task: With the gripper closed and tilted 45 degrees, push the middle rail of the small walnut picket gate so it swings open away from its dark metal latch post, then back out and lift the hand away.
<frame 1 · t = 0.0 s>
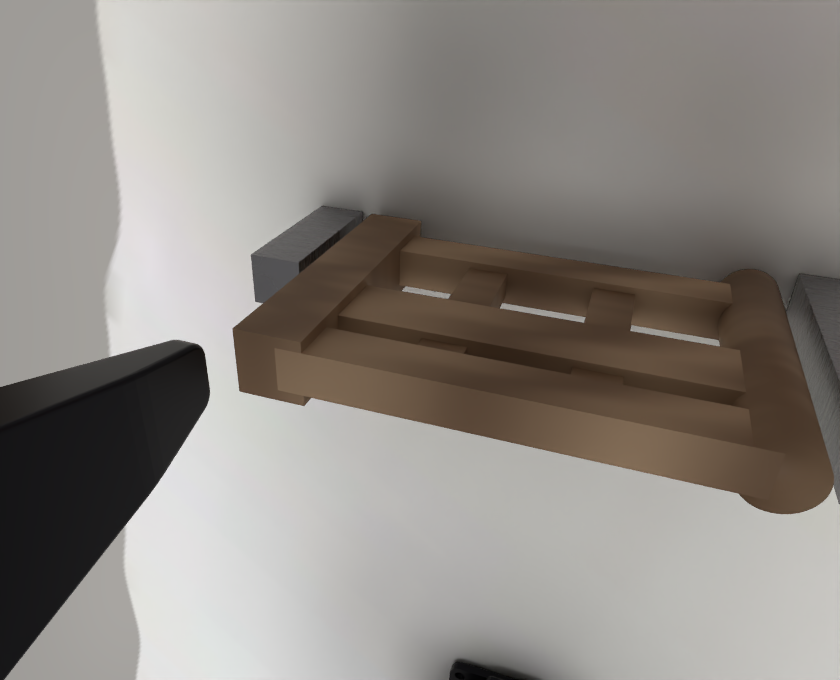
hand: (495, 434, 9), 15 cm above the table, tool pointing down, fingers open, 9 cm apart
gate posts: (745, 288, 22), on the table
walnut gate: (536, 327, 19), point 5 cm above the table, hinge at 0.0°
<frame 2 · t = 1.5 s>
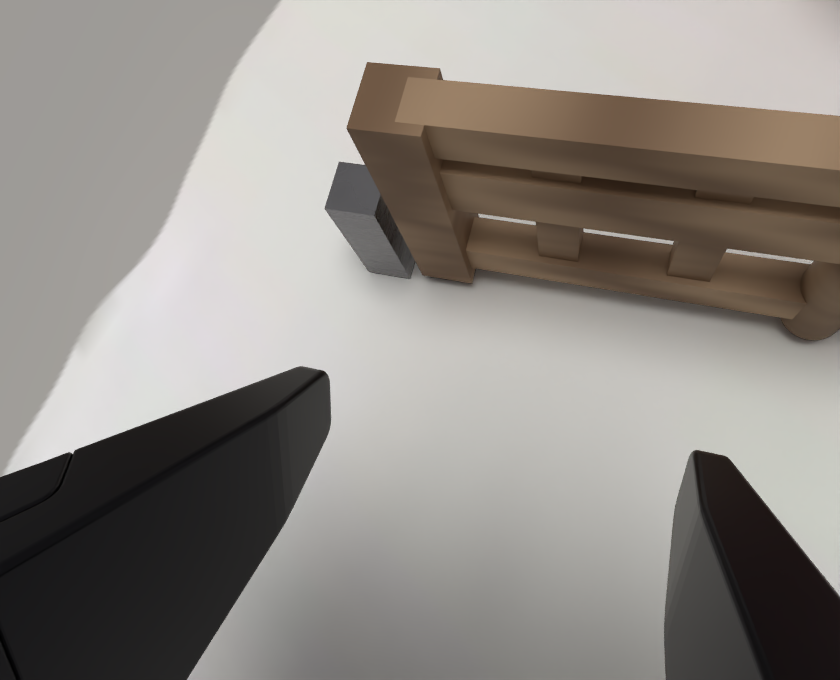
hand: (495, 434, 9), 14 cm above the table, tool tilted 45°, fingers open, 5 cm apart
gate posts: (804, 318, 22), on the table
walnut gate: (632, 221, 19), point 5 cm above the table, hinge at 0.0°
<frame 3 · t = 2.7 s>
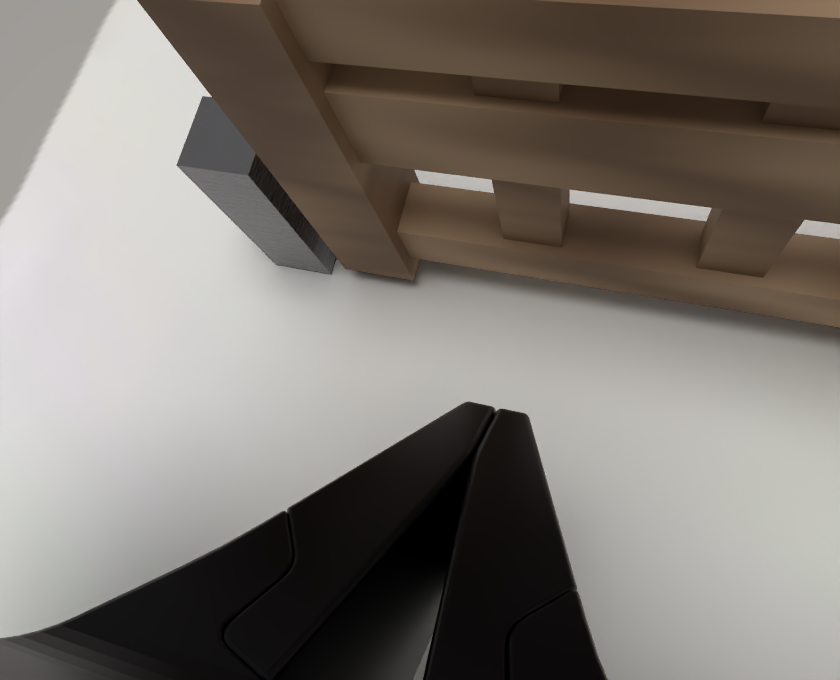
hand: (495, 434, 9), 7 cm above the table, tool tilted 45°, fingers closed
walnut gate: (646, 178, 12), point 5 cm above the table, hinge at 0.0°
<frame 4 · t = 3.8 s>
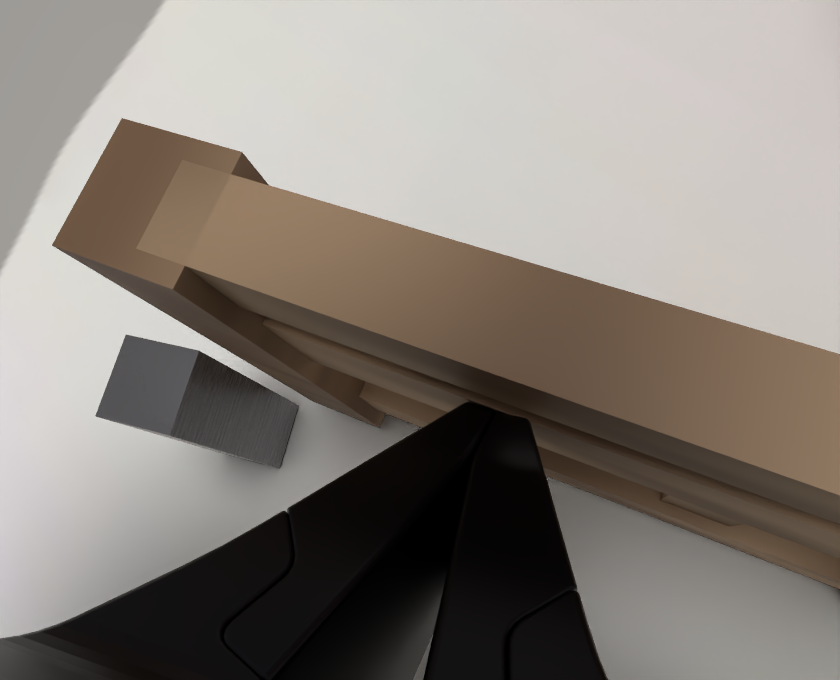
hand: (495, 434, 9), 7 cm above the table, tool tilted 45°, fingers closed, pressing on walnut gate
walnut gate: (605, 433, 11), point 5 cm above the table, hinge at 8.0°, touching gripper
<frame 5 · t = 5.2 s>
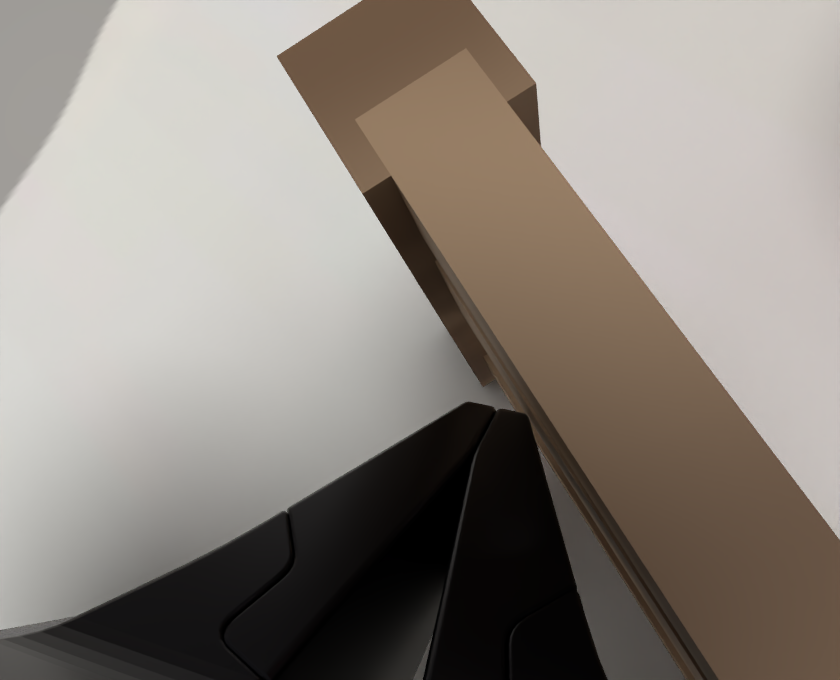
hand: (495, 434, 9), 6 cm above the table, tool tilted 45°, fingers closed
walnut gate: (699, 600, 9), point 5 cm above the table, hinge at 46.1°, touching gripper
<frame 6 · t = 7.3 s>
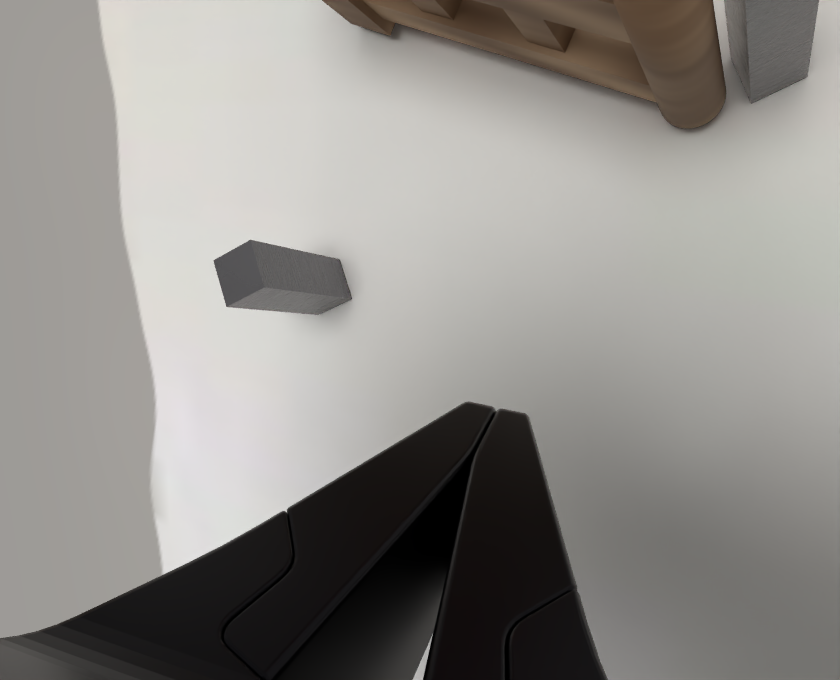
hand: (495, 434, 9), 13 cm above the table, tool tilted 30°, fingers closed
gate posts: (693, 103, 20), on the table
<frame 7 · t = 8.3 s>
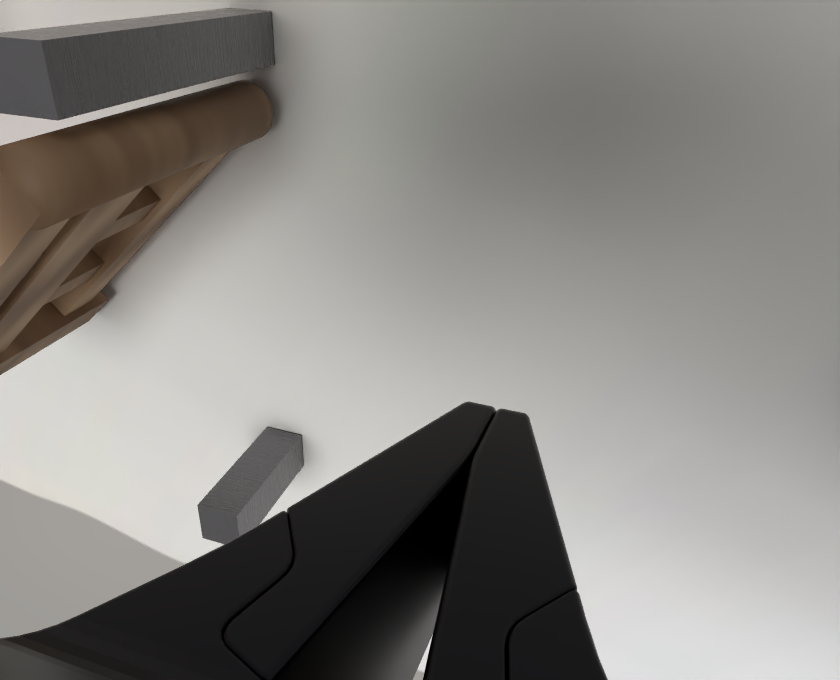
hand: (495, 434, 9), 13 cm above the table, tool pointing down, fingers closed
gate posts: (256, 106, 22), on the table
walnut gate: (61, 257, 21), point 5 cm above the table, hinge at 46.2°
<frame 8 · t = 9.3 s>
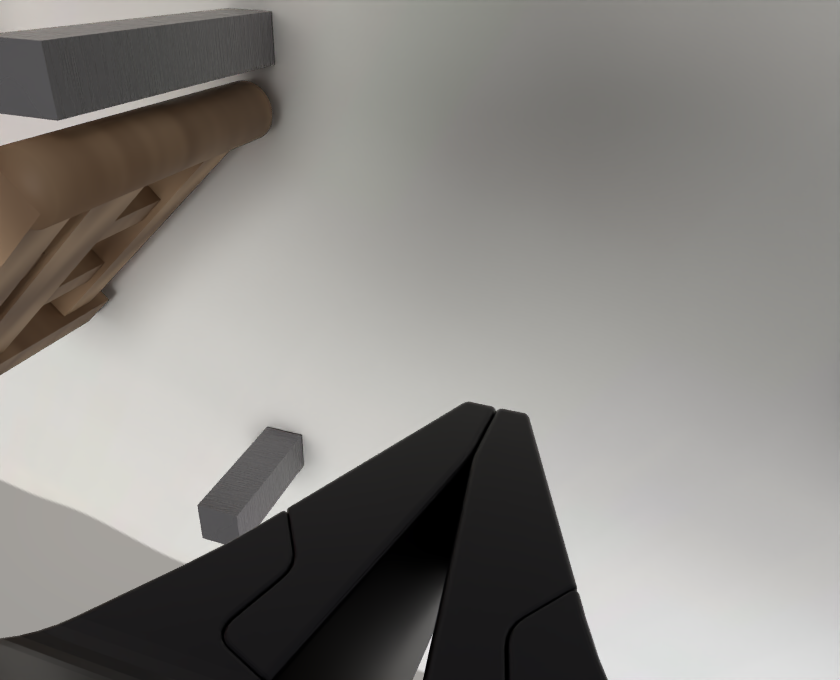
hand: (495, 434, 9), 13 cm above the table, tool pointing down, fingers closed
gate posts: (256, 107, 22), on the table
walnut gate: (61, 258, 21), point 5 cm above the table, hinge at 46.2°
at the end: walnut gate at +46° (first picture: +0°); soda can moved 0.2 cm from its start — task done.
